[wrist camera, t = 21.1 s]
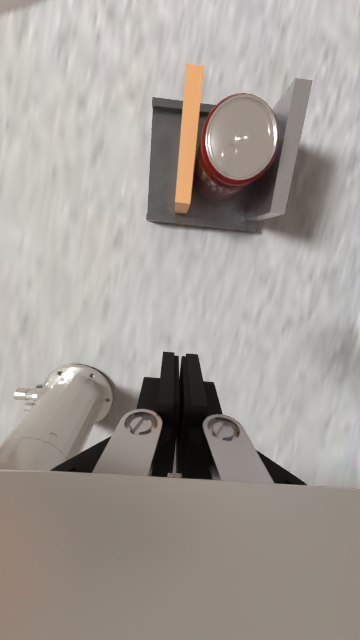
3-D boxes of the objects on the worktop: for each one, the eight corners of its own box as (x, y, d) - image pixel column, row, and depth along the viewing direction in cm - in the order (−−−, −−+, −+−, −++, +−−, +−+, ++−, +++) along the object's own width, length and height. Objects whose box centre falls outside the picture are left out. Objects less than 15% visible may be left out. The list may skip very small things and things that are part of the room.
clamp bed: (148, 220, 37) (136, 211, 26) (154, 107, 32) (143, 39, 21) (253, 231, 37) (285, 227, 26) (272, 122, 33) (320, 63, 22)
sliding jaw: (175, 213, 35) (174, 202, 25) (183, 116, 31) (186, 63, 22) (186, 214, 35) (190, 203, 25) (195, 118, 31) (203, 66, 22)
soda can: (222, 129, 32) (248, 66, 21) (256, 175, 34) (297, 141, 22) (181, 172, 33) (184, 136, 22) (216, 214, 35) (235, 201, 24)
